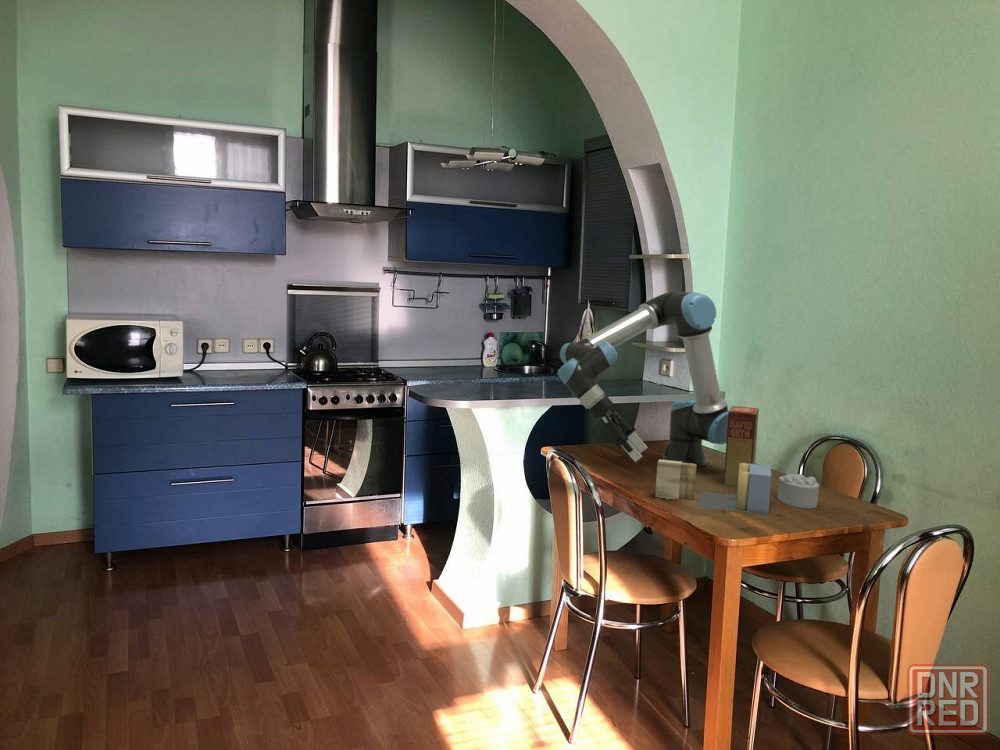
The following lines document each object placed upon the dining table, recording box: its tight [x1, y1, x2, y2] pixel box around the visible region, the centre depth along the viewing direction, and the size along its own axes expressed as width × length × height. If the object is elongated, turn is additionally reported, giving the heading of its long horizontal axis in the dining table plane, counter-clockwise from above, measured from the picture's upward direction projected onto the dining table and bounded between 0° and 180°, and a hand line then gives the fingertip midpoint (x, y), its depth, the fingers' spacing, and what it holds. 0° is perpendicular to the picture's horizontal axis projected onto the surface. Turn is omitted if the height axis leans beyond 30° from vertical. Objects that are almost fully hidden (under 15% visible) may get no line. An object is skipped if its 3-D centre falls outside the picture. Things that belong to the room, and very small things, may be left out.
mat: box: [697, 491, 769, 516], centre depth 252 cm, size 18×20×1 cm
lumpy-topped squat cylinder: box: [776, 473, 820, 509], centre depth 255 cm, size 10×13×9 cm
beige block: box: [654, 459, 697, 501], centre depth 256 cm, size 5×12×11 cm, turn 74°
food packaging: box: [723, 405, 759, 487], centre depth 276 cm, size 13×9×25 cm
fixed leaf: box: [736, 463, 772, 514], centre depth 249 cm, size 14×9×11 cm, turn 164°
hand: (641, 454), depth 257 cm, fingers open, 13 cm apart
